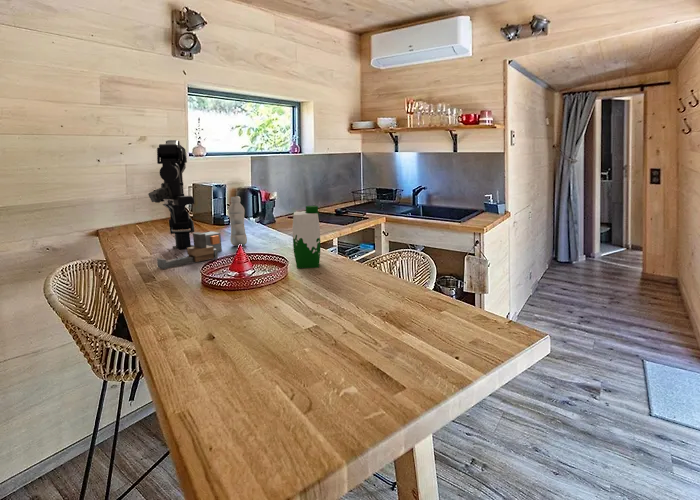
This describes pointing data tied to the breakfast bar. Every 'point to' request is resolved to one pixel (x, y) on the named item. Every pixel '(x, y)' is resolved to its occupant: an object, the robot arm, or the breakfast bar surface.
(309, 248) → the milk carton
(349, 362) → the breakfast bar surface
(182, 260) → the rail
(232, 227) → the plastic bottle
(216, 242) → the plunger
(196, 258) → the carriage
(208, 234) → the block
